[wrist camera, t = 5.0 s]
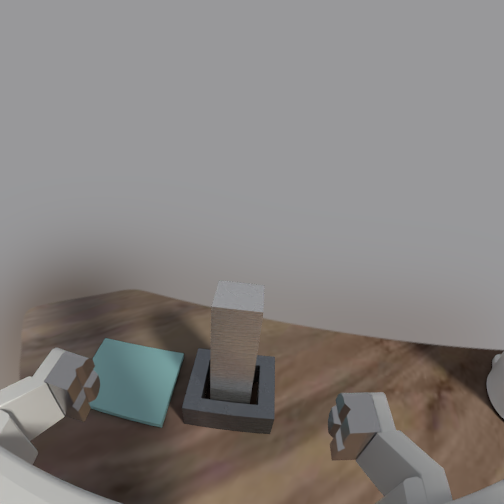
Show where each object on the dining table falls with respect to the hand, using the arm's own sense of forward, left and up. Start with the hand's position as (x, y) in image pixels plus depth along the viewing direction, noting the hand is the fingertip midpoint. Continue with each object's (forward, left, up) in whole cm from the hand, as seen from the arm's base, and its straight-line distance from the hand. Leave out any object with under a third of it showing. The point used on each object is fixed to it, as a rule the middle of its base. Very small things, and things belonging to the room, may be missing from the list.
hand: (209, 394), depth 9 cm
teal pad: (+12, -15, -20) cm, 28 cm away
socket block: (0, -15, -20) cm, 25 cm away
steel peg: (0, -15, -20) cm, 25 cm away
